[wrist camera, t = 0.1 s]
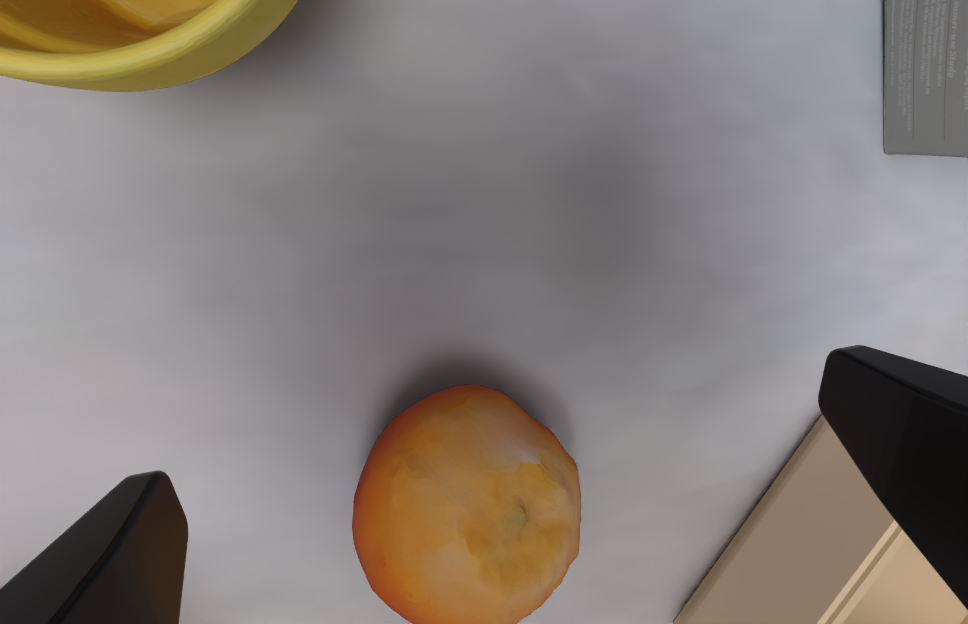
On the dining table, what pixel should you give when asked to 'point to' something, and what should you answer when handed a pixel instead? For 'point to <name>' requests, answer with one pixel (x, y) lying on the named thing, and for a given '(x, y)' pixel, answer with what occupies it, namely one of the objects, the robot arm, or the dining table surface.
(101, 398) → the dining table surface
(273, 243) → the dining table surface
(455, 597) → the fruit
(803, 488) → the carton
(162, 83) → the plant pot
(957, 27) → the skincare box
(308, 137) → the dining table surface
